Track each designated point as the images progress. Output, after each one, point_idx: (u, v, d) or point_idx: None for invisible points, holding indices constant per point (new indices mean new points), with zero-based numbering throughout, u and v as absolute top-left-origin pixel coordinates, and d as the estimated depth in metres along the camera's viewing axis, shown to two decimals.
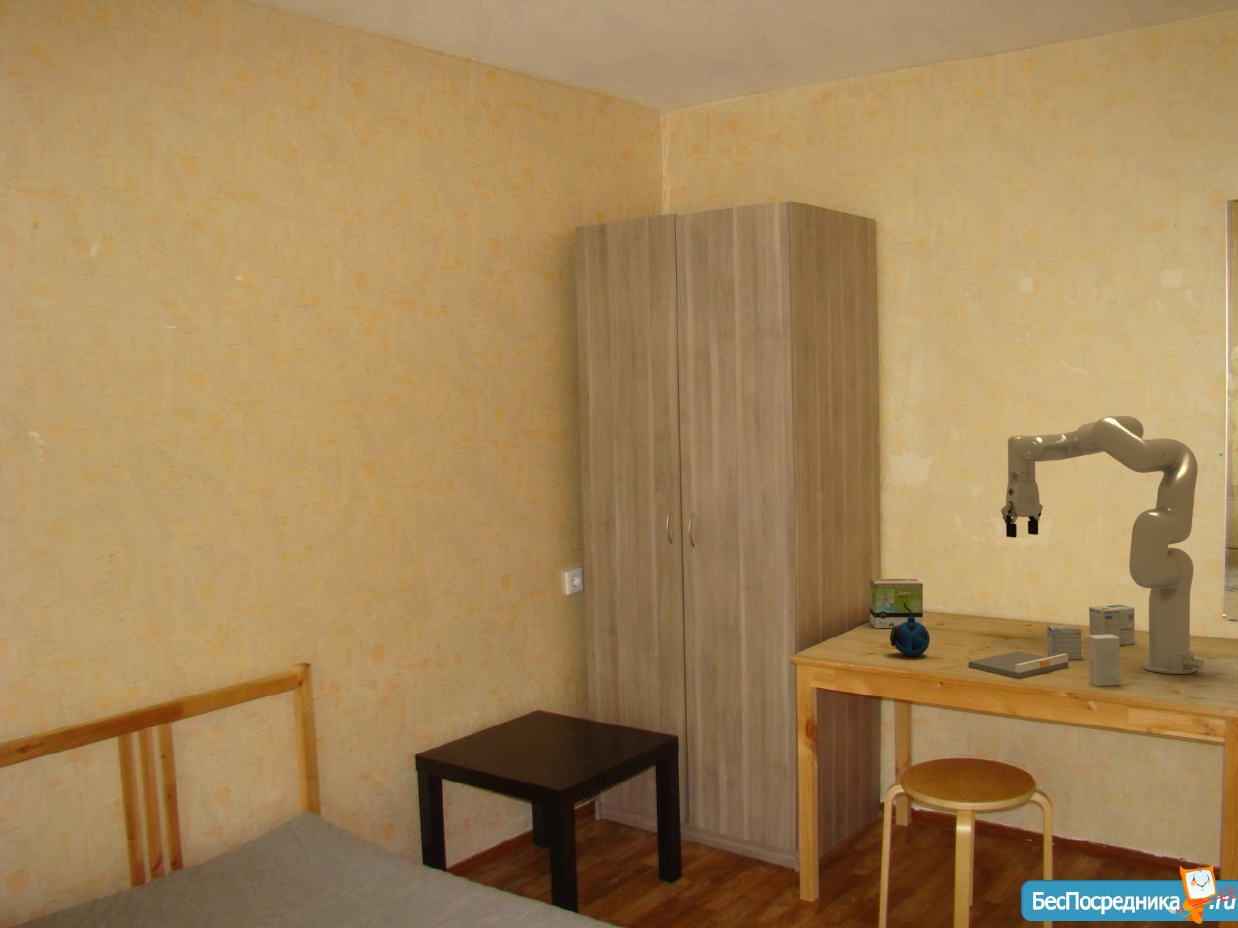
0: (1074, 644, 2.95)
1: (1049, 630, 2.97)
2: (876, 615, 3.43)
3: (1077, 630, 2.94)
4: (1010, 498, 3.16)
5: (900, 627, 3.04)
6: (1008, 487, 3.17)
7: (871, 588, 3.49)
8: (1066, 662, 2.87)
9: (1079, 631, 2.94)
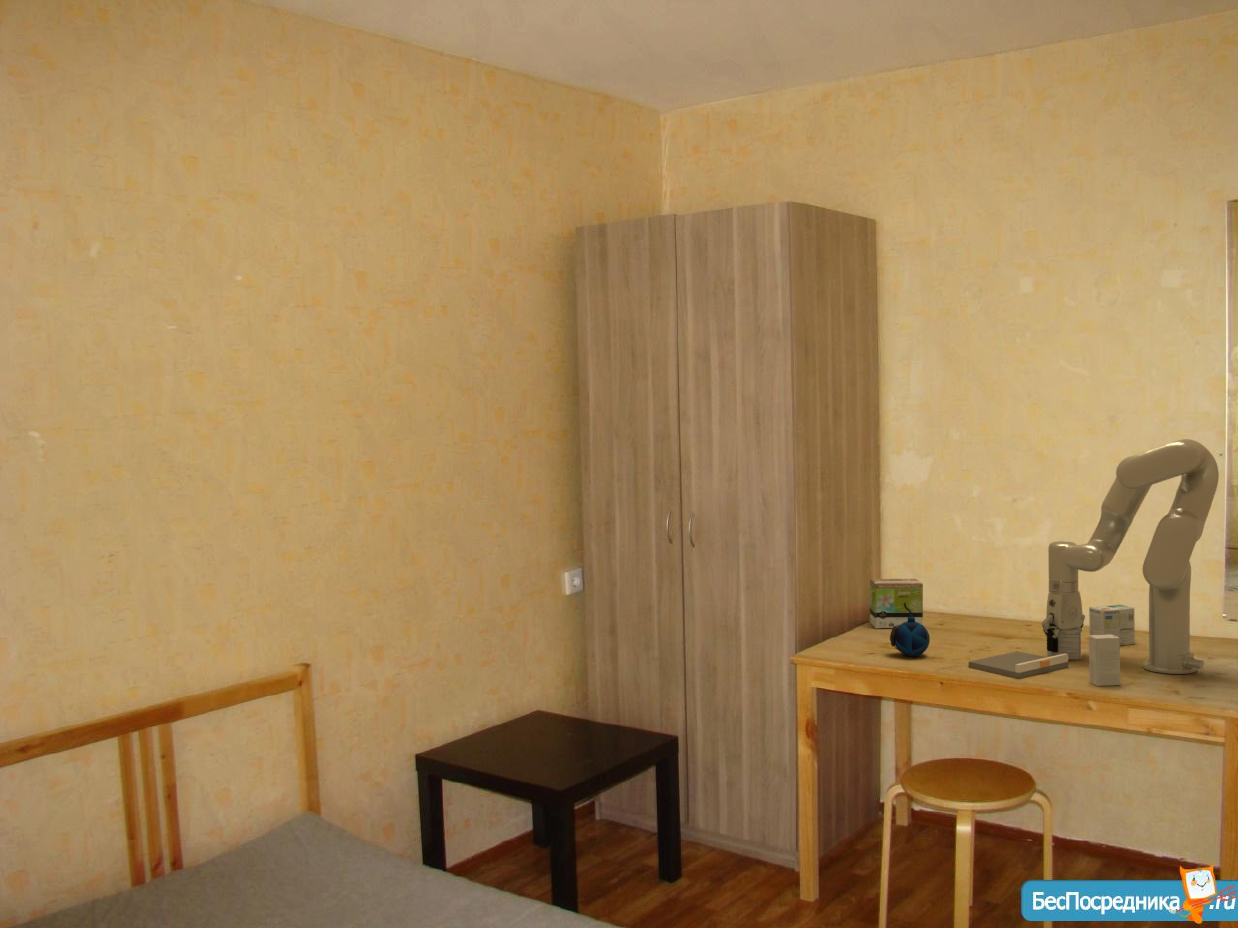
0: (1073, 644, 2.95)
1: None
2: (876, 615, 3.43)
3: (1077, 630, 2.94)
4: (1051, 610, 2.94)
5: (900, 627, 3.04)
6: (1049, 597, 2.95)
7: (871, 588, 3.49)
8: (1066, 662, 2.87)
9: (1079, 631, 2.94)
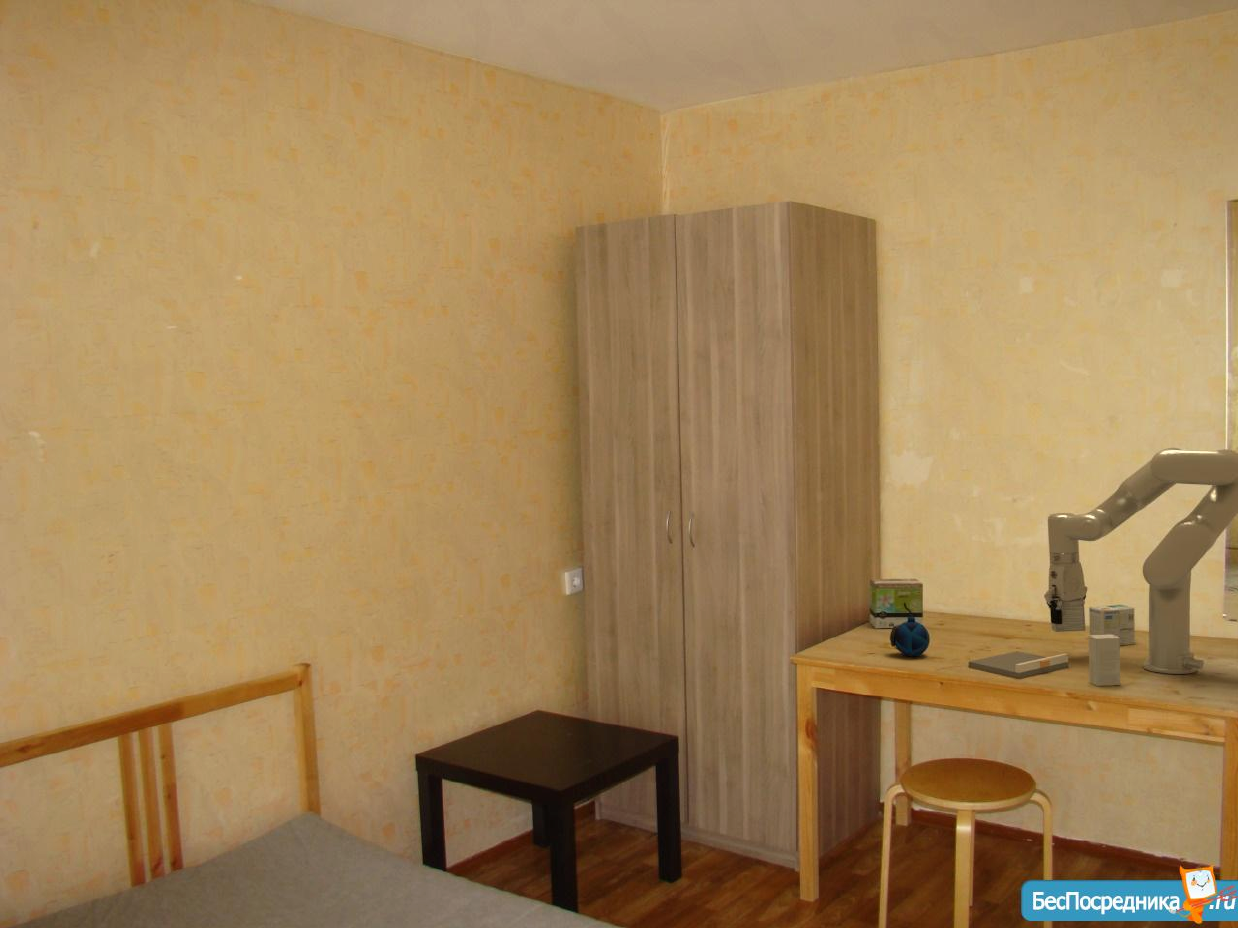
0: (1077, 615, 2.94)
1: None
2: (876, 615, 3.43)
3: (1080, 601, 2.93)
4: (1053, 581, 2.93)
5: (900, 627, 3.04)
6: (1050, 569, 2.94)
7: (871, 588, 3.49)
8: (1066, 662, 2.87)
9: (1082, 602, 2.93)
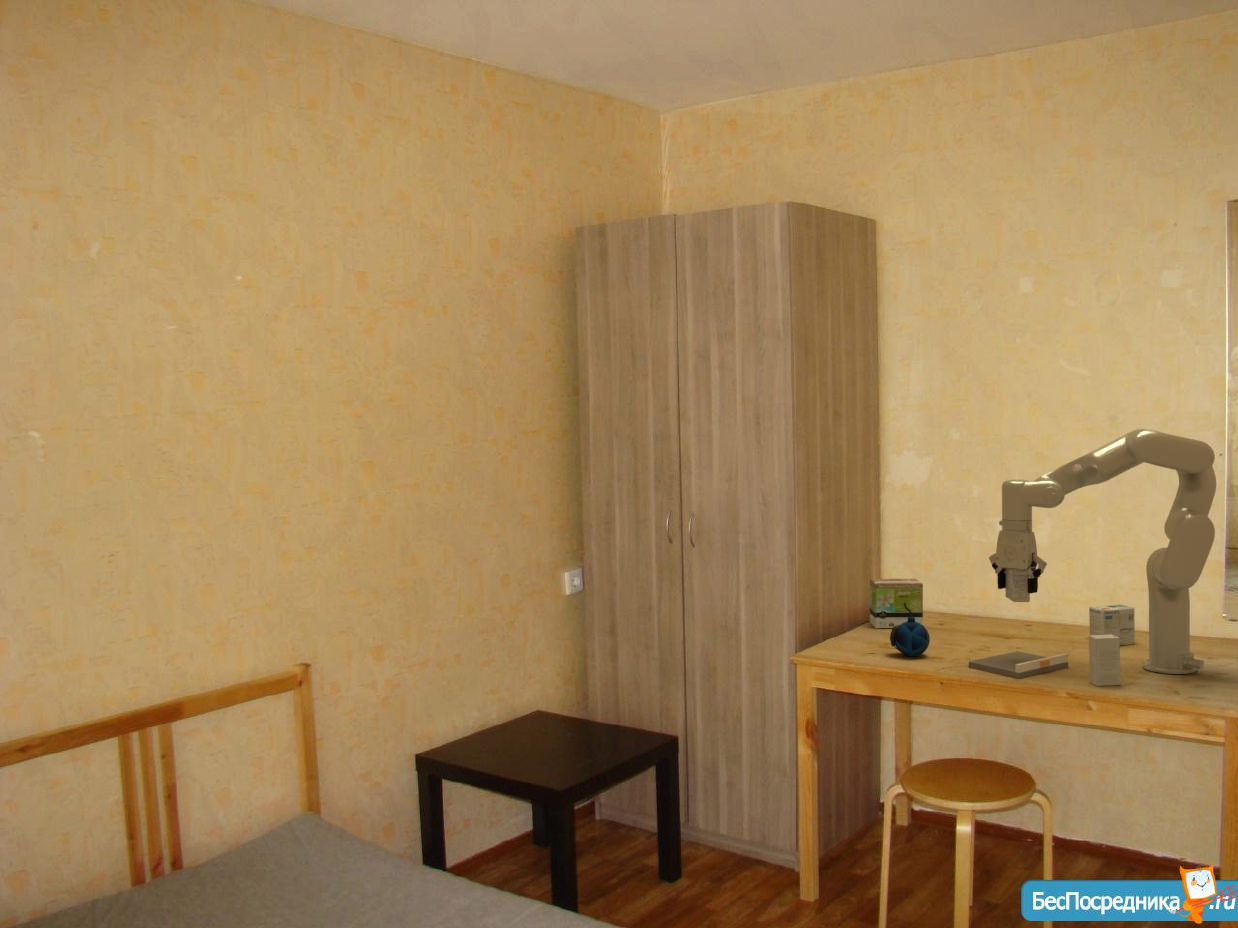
0: (1011, 584, 2.87)
1: None
2: (876, 615, 3.43)
3: (1011, 571, 2.86)
4: None
5: (900, 627, 3.04)
6: None
7: (871, 588, 3.49)
8: (1066, 662, 2.87)
9: (1012, 572, 2.86)
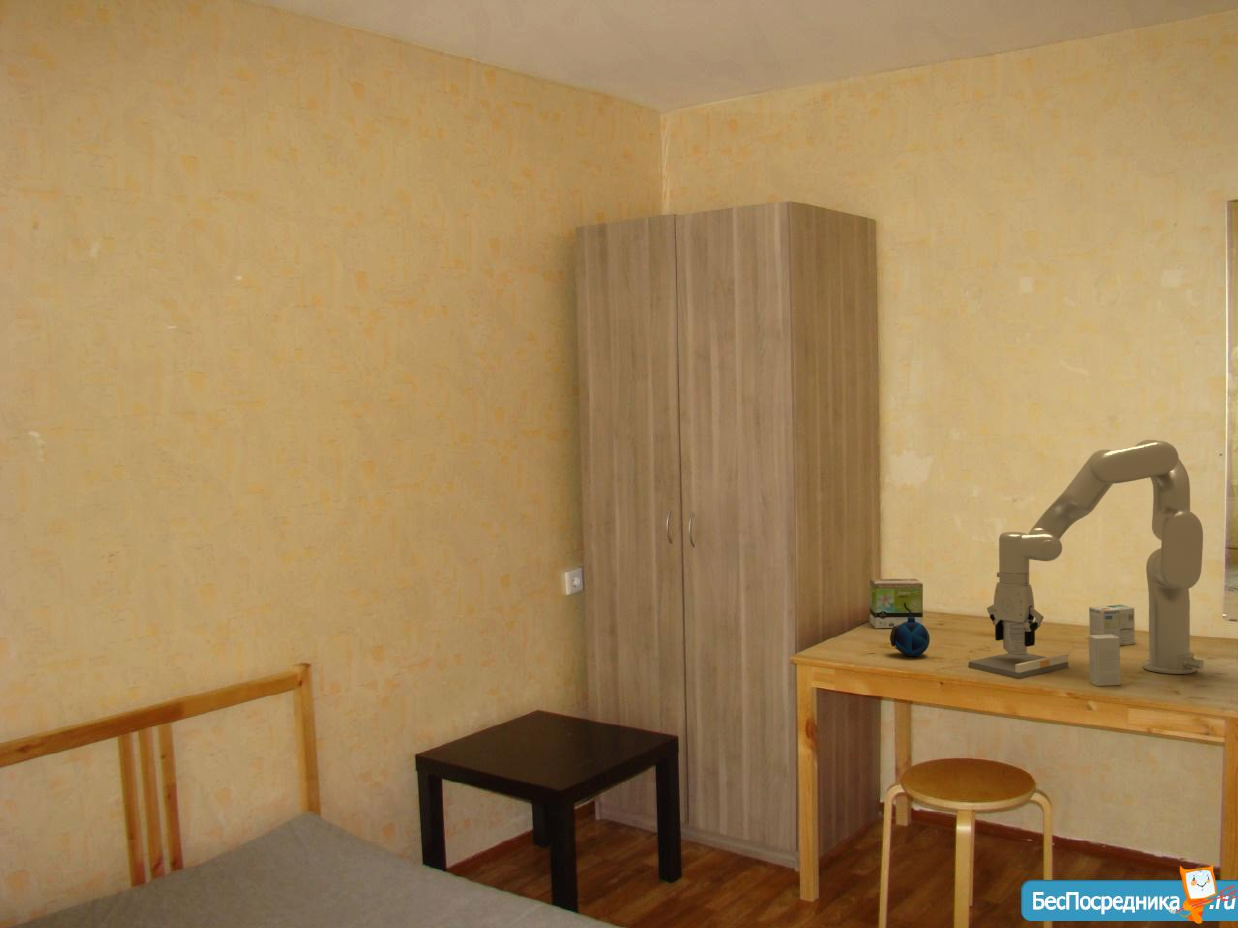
0: (1008, 637, 2.87)
1: None
2: (876, 615, 3.43)
3: (1008, 623, 2.86)
4: None
5: (900, 627, 3.04)
6: None
7: (871, 588, 3.49)
8: (1066, 662, 2.87)
9: (1008, 625, 2.86)
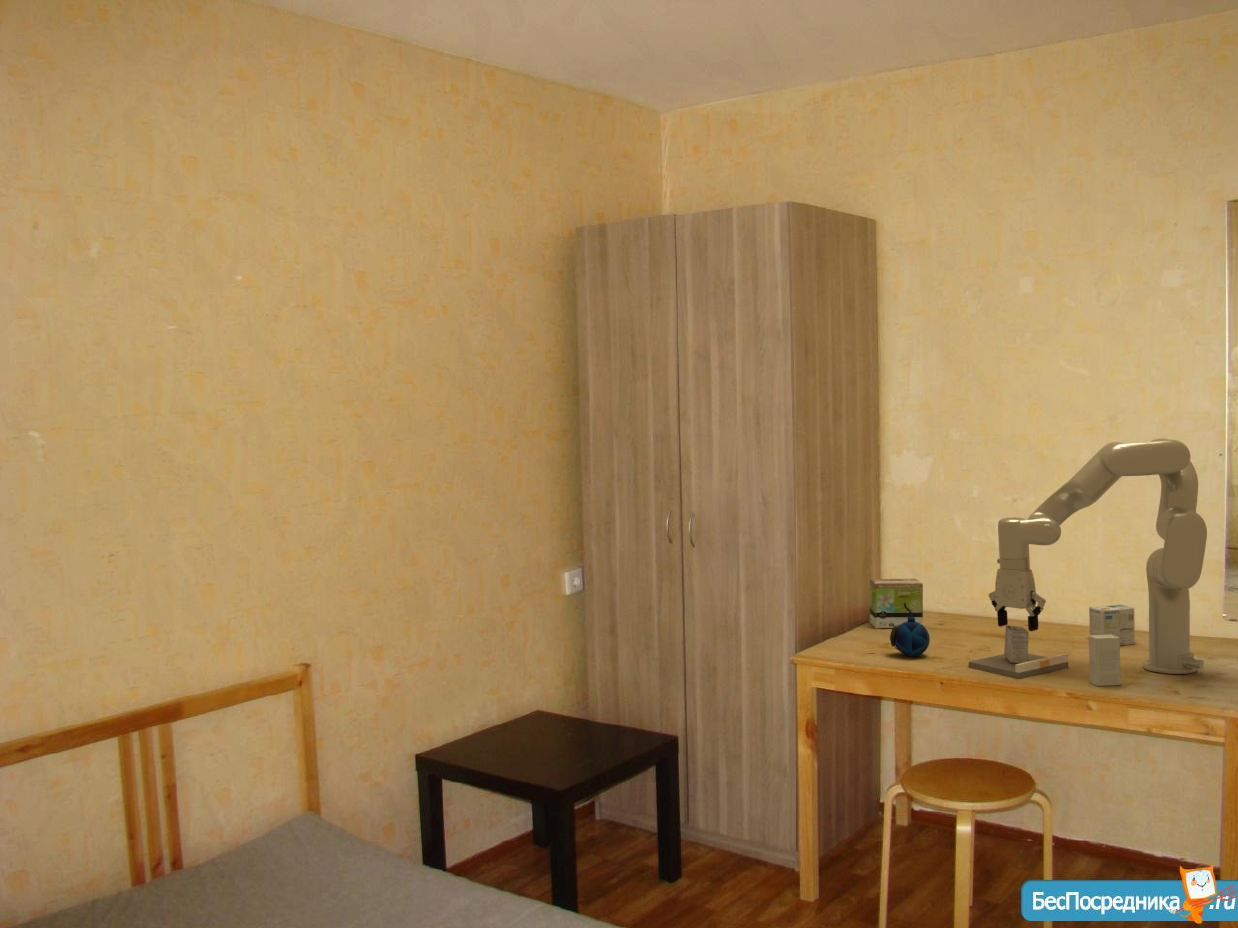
0: (1009, 645, 2.87)
1: None
2: (876, 615, 3.43)
3: (1011, 631, 2.86)
4: None
5: (900, 627, 3.04)
6: None
7: (871, 588, 3.49)
8: (1066, 662, 2.87)
9: (1011, 633, 2.86)
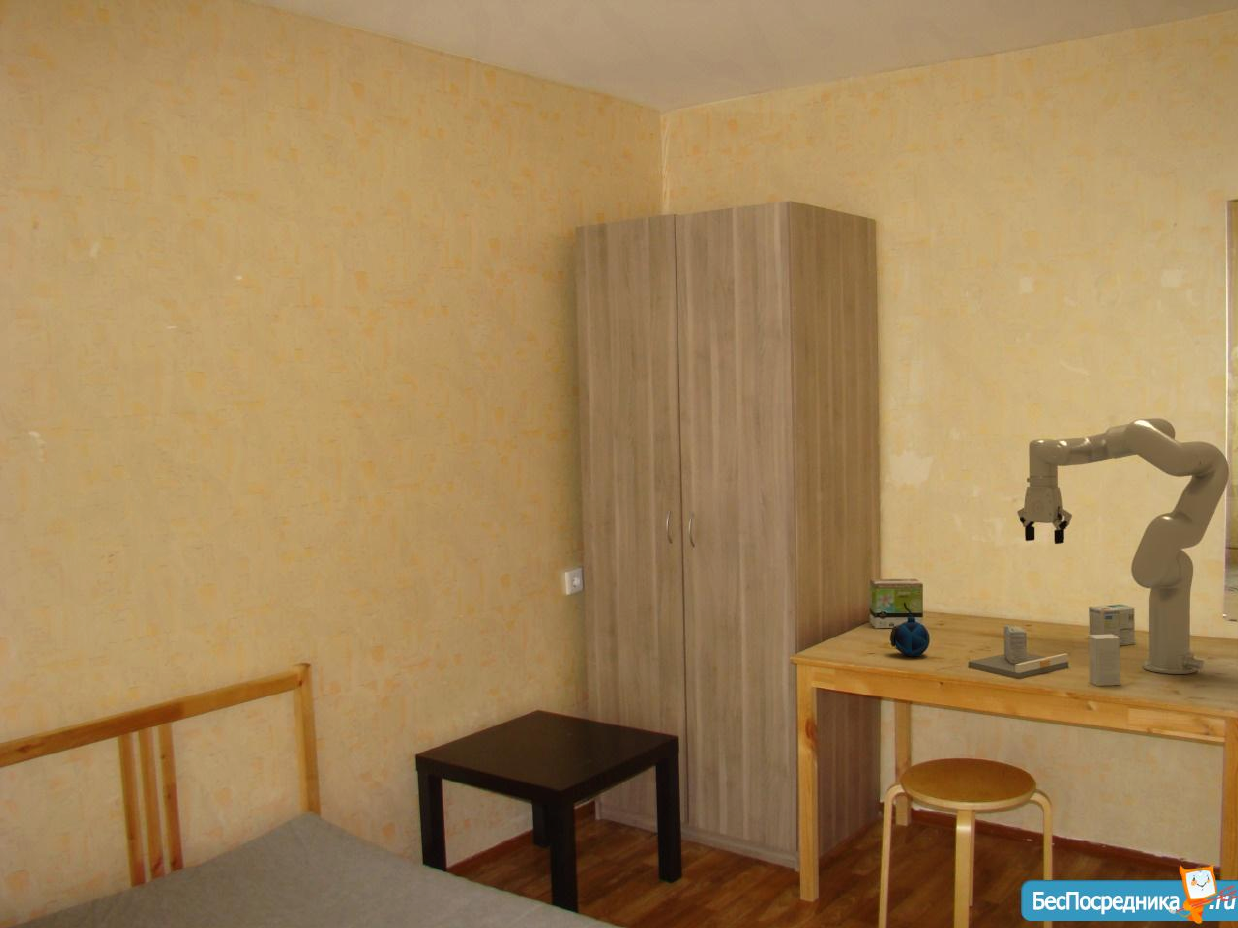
0: (1008, 646, 2.87)
1: None
2: (876, 615, 3.43)
3: (1009, 632, 2.86)
4: None
5: (900, 627, 3.04)
6: None
7: (871, 588, 3.49)
8: (1066, 662, 2.87)
9: (1009, 634, 2.86)
